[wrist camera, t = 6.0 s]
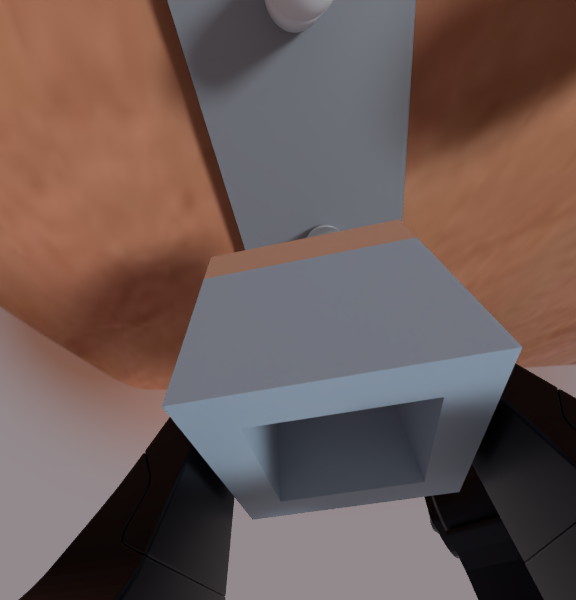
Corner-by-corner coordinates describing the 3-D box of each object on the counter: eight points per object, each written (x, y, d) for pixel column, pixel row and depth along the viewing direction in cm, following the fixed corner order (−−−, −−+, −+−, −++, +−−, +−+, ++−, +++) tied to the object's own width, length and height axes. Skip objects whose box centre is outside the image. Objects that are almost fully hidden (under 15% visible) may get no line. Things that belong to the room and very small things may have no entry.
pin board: (393, 275, 19) (430, 330, 15) (263, 300, 20) (263, 359, 16) (419, -235, 8) (573, -542, 4) (126, -148, 9) (5, -346, 5)
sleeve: (393, 351, 12) (459, 491, 8) (257, 374, 12) (252, 519, 8) (399, 219, 8) (522, 346, 4) (210, 257, 9) (162, 406, 5)
